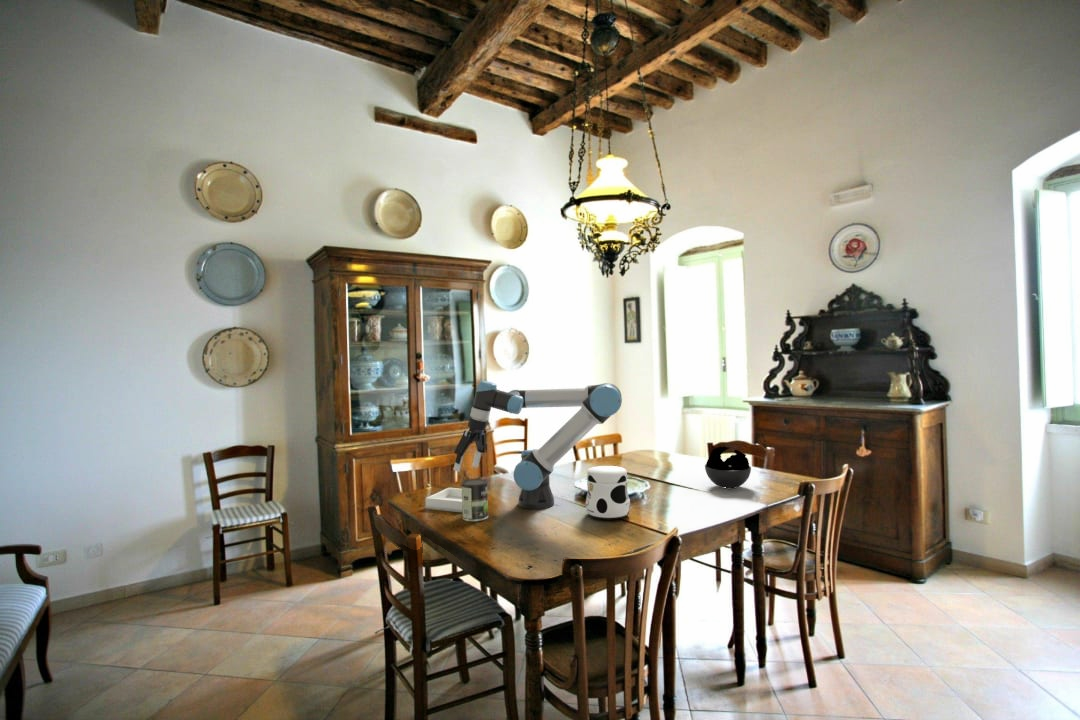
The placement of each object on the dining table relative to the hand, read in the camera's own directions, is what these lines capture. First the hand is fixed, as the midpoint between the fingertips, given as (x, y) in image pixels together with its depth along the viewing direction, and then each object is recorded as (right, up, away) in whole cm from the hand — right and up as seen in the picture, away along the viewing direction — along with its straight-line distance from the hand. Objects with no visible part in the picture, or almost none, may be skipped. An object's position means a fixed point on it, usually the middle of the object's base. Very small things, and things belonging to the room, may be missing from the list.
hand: (466, 468), depth 219 cm
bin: (-6, -18, +12) cm, 22 cm away
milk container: (+57, -17, -9) cm, 60 cm away
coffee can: (+5, -18, -6) cm, 20 cm away
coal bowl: (+117, -15, +28) cm, 121 cm away
